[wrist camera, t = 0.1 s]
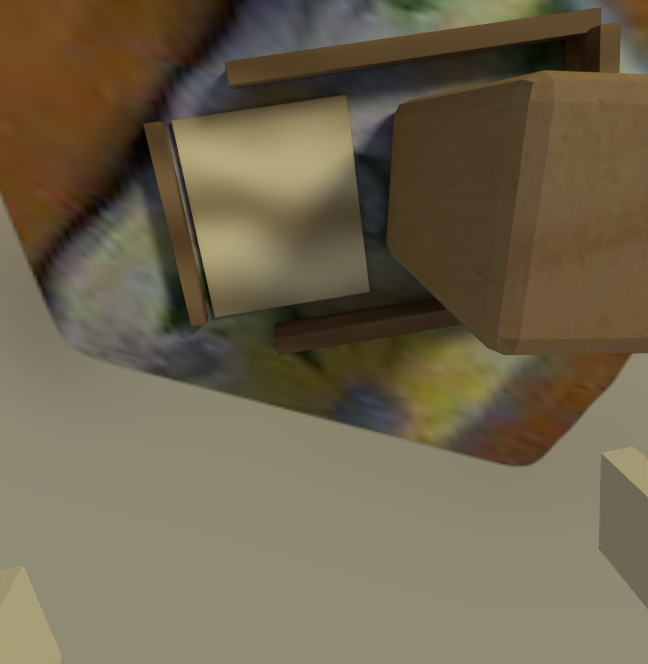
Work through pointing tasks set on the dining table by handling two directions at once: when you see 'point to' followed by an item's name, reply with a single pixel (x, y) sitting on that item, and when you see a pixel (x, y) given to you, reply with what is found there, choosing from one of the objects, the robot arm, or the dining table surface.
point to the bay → (314, 182)
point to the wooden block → (529, 209)
